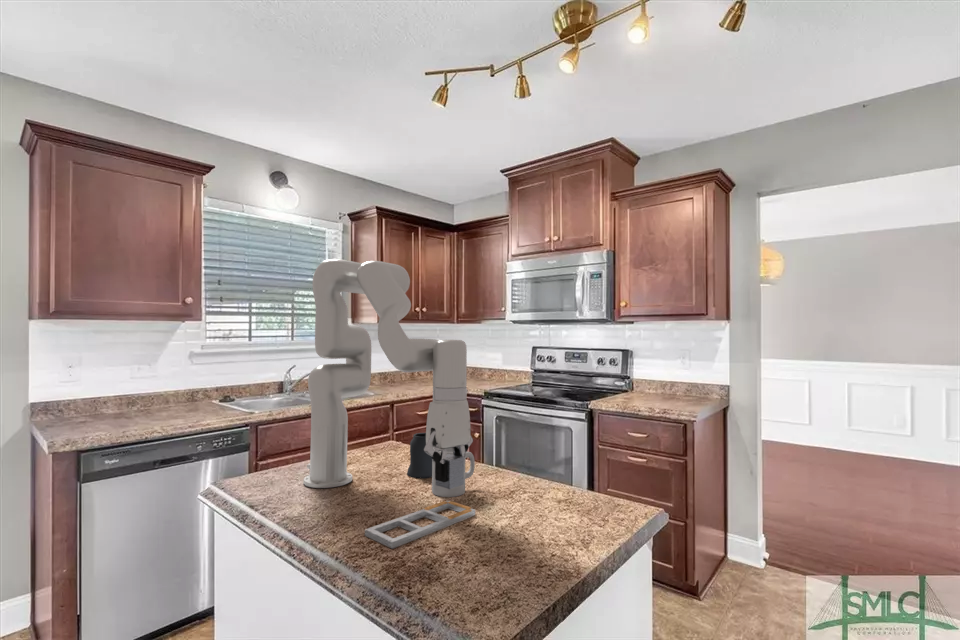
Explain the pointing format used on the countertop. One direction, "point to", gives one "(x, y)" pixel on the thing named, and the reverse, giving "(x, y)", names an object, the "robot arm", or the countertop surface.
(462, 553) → the countertop surface
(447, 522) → the grey flat frame
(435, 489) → the mug
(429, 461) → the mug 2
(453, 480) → the grey rectangular block
